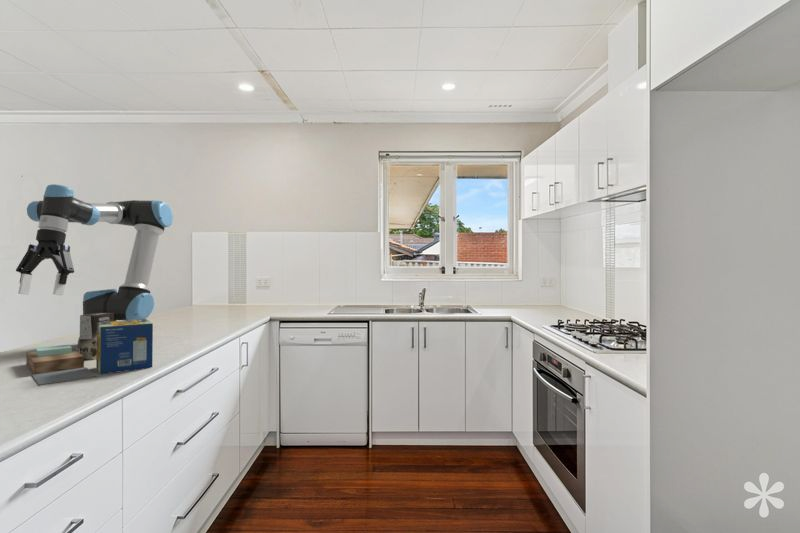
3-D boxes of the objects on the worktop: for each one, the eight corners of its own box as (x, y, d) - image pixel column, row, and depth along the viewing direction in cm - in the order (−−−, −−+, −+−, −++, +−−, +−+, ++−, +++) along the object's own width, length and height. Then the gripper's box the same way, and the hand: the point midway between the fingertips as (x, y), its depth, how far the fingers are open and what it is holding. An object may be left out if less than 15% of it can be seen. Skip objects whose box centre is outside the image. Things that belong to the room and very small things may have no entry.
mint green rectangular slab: (68, 350, 156) (68, 344, 155) (71, 353, 151) (71, 347, 151) (35, 353, 149) (35, 348, 149) (38, 357, 145) (38, 351, 145)
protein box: (95, 367, 148) (95, 322, 148) (147, 361, 158) (147, 318, 158) (99, 374, 140) (99, 326, 140) (153, 367, 150) (153, 322, 150)
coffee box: (93, 360, 158) (93, 315, 158) (78, 358, 160) (78, 314, 159) (114, 354, 167) (114, 312, 167) (100, 353, 169) (100, 311, 168)
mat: (85, 368, 147) (85, 367, 147) (96, 376, 138) (96, 375, 138) (32, 375, 137) (32, 374, 137) (38, 385, 128) (38, 384, 128)
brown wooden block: (72, 358, 160) (72, 347, 160) (83, 368, 147) (83, 356, 147) (26, 364, 150) (26, 352, 150) (33, 375, 138) (33, 362, 138)
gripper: (10, 228, 144) (-3, 292, 140) (73, 227, 139) (61, 293, 135) (32, 234, 151) (21, 295, 147) (93, 233, 146) (83, 296, 143)
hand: (40, 294), depth 141 cm, fingers open, 13 cm apart
